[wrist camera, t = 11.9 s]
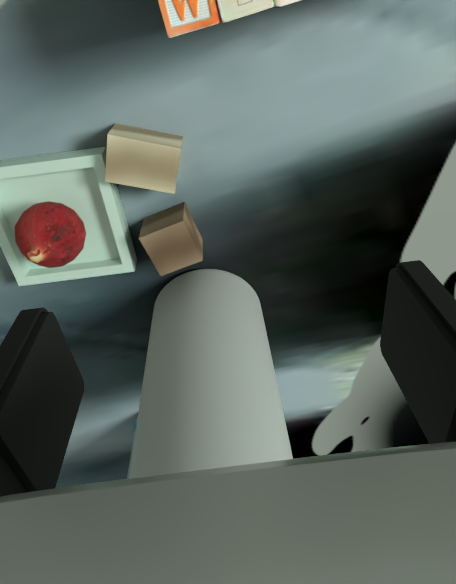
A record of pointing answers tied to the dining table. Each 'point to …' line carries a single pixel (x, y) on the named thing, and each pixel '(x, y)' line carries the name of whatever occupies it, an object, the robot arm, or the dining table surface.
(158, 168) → the beech block
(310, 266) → the dining table surface
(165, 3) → the stack of blocks
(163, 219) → the walnut block
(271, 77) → the dining table surface
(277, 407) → the cylinder vase
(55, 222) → the red round fruit
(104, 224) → the dish
